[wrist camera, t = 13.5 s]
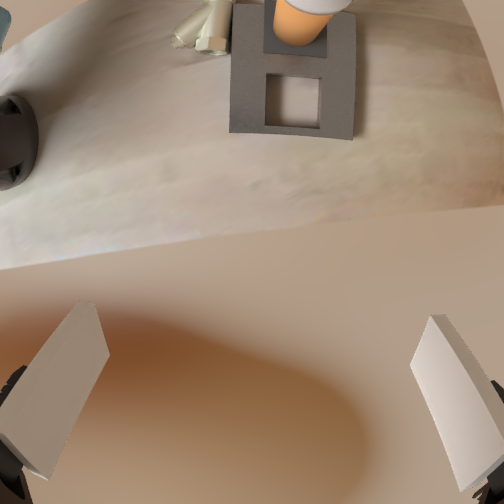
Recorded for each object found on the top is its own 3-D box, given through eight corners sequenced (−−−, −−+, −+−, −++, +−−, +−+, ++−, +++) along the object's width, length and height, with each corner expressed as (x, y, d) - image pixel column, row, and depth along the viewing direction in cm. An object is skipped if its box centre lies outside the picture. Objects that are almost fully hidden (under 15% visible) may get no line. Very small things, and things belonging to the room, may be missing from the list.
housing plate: (231, 131, 35) (229, 132, 33) (234, 9, 28) (233, 3, 26) (347, 139, 35) (352, 140, 33) (351, 18, 28) (355, 14, 26)
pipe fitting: (175, 55, 31) (229, 56, 31) (163, 49, 28) (222, 49, 27) (184, 0, 28) (237, -1, 28) (174, -10, 25) (232, -12, 24)
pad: (263, 53, 29) (263, 52, 29) (264, 0, 26) (264, -1, 26) (326, 58, 29) (326, 57, 29) (326, 5, 26) (326, 5, 26)
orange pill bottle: (269, 48, 28) (275, 7, 16) (269, 4, 26) (275, -54, 13) (321, 52, 28) (359, 17, 16) (321, 8, 26) (354, -44, 13)
